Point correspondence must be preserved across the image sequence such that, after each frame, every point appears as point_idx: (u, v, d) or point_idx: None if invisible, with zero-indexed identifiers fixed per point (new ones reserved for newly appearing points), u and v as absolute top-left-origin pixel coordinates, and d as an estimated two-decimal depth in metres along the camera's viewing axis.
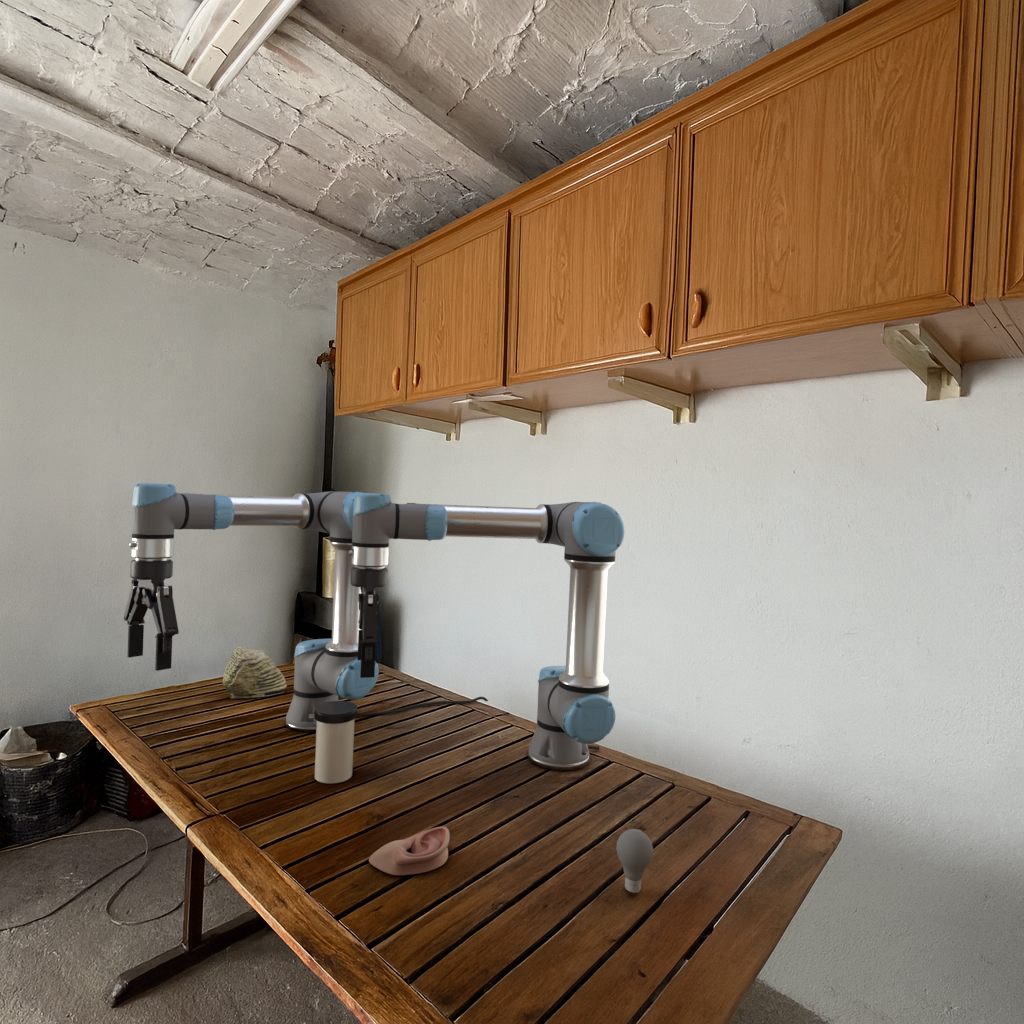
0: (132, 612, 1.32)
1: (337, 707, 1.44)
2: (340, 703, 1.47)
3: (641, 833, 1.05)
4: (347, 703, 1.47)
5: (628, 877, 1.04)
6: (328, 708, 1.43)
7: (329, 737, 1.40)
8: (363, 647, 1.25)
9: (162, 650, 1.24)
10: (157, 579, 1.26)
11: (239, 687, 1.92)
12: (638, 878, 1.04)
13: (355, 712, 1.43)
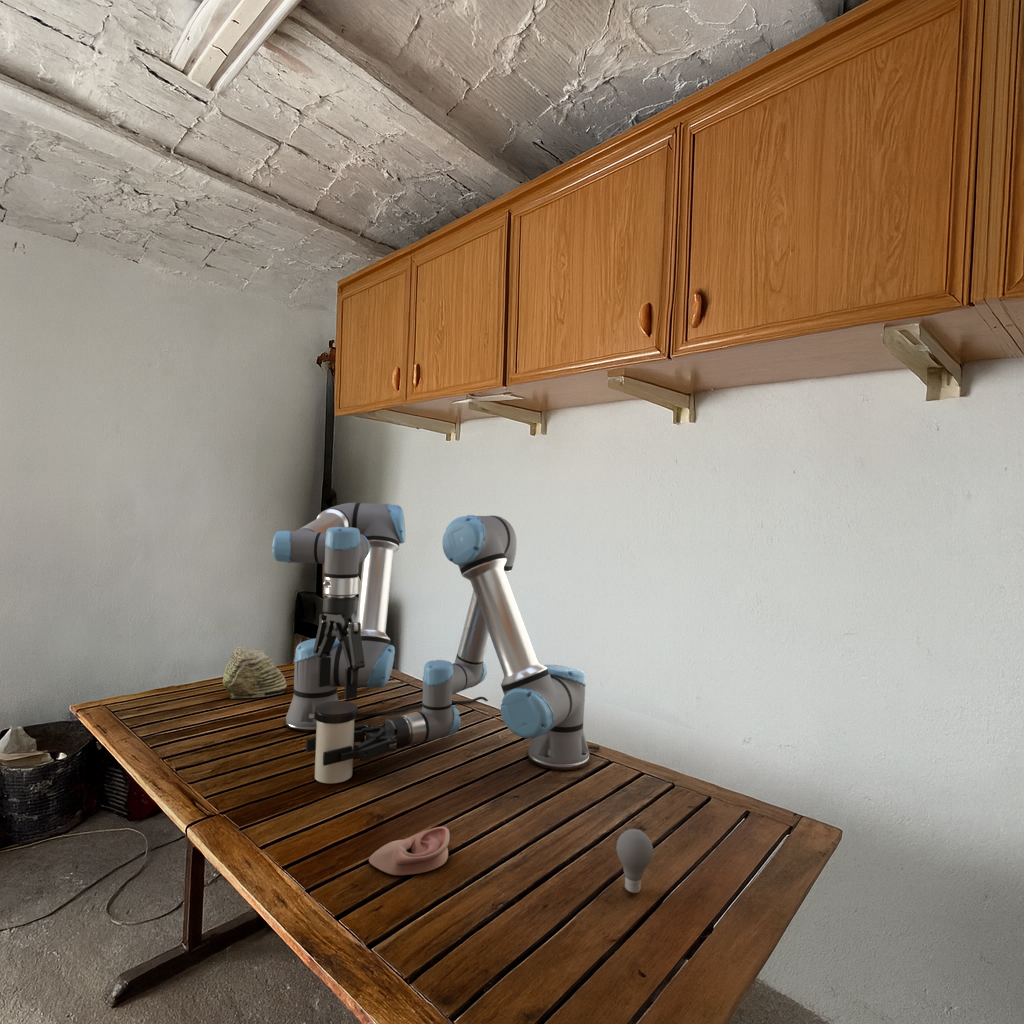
0: (322, 645, 1.46)
1: (337, 707, 1.44)
2: (340, 703, 1.47)
3: (641, 833, 1.05)
4: (347, 703, 1.47)
5: (628, 877, 1.04)
6: (328, 708, 1.43)
7: (329, 737, 1.40)
8: None
9: (350, 681, 1.39)
10: (347, 615, 1.41)
11: (239, 687, 1.92)
12: (638, 878, 1.04)
13: (355, 712, 1.43)
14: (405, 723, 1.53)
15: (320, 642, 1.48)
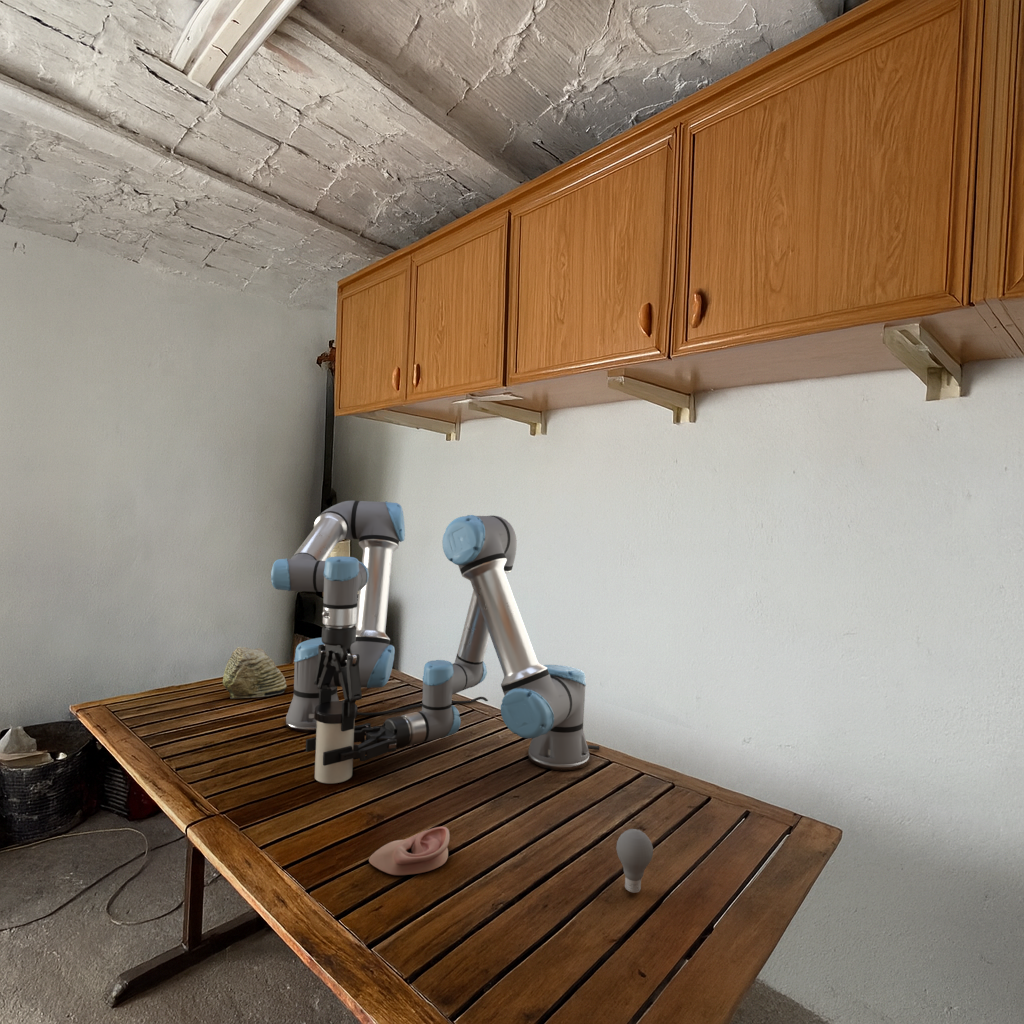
0: (322, 676, 1.46)
1: (337, 707, 1.44)
2: (340, 703, 1.47)
3: (641, 833, 1.05)
4: None
5: (628, 877, 1.04)
6: (328, 708, 1.43)
7: (329, 737, 1.40)
8: None
9: (347, 713, 1.39)
10: (346, 645, 1.41)
11: (239, 687, 1.92)
12: (638, 878, 1.04)
13: (355, 712, 1.43)
14: (405, 723, 1.53)
15: (320, 673, 1.48)
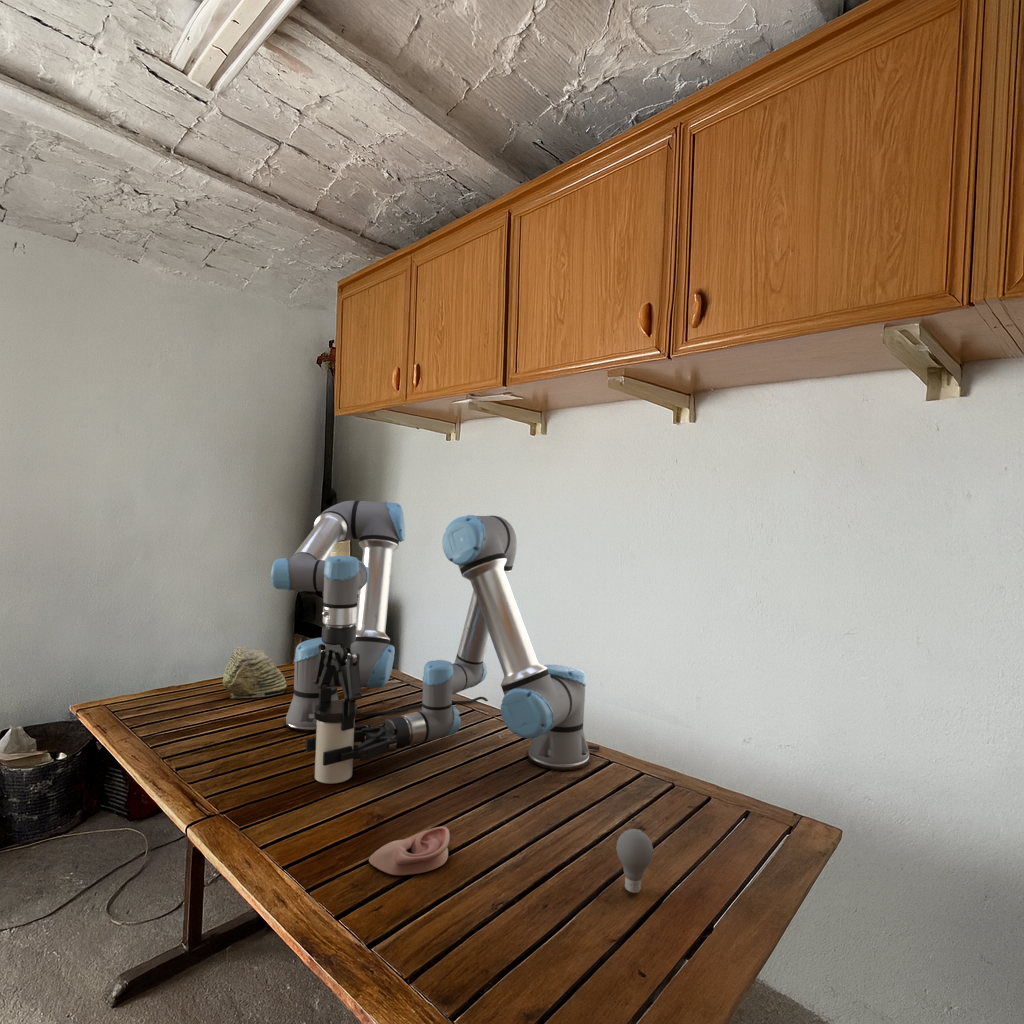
0: (322, 676, 1.46)
1: (337, 706, 1.44)
2: (327, 704, 1.45)
3: (641, 833, 1.05)
4: (331, 702, 1.47)
5: (628, 877, 1.04)
6: (333, 709, 1.42)
7: (329, 737, 1.40)
8: None
9: (347, 713, 1.39)
10: (346, 644, 1.41)
11: (239, 687, 1.92)
12: (638, 878, 1.04)
13: None
14: (405, 723, 1.53)
15: (320, 672, 1.48)
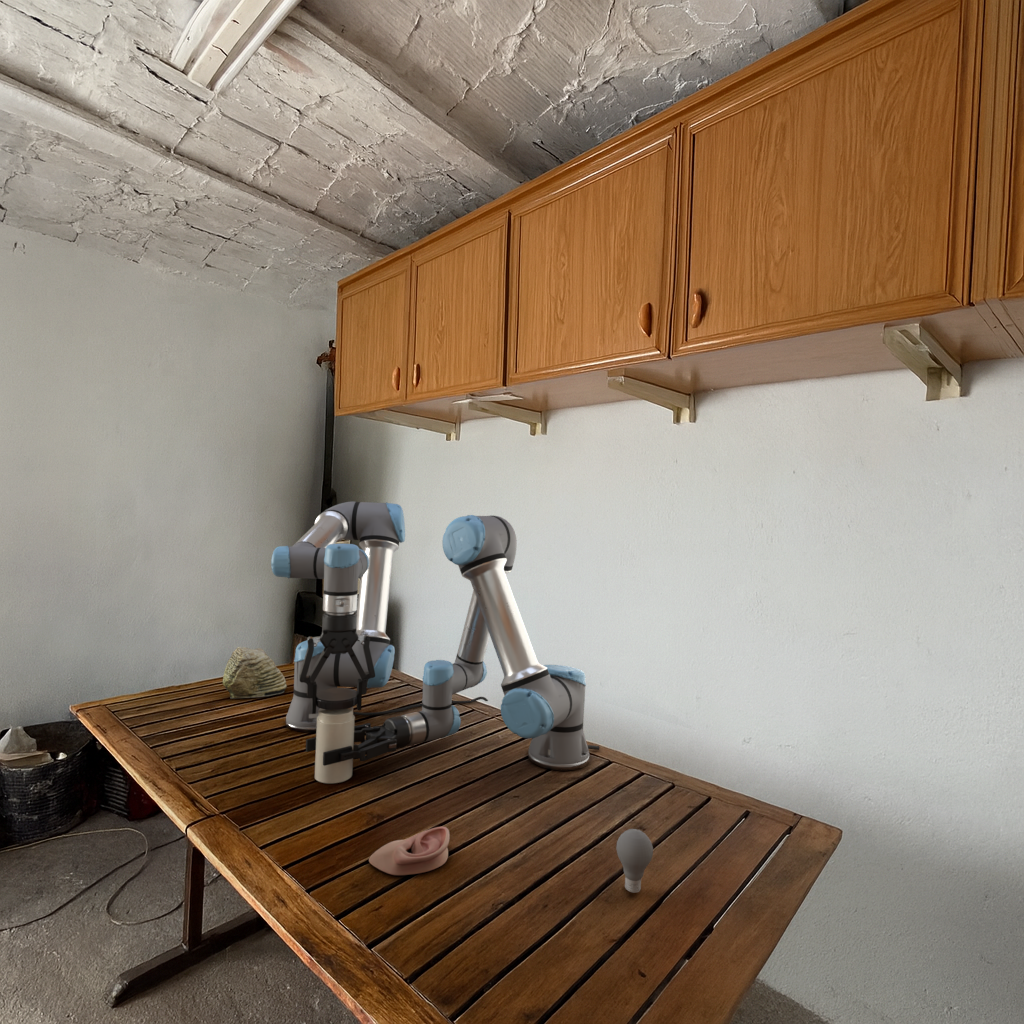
0: (317, 669, 1.41)
1: (336, 693, 1.44)
2: (325, 695, 1.43)
3: (641, 833, 1.05)
4: (321, 693, 1.44)
5: (628, 877, 1.04)
6: (343, 695, 1.43)
7: (329, 737, 1.40)
8: None
9: (364, 691, 1.46)
10: (356, 628, 1.45)
11: (239, 687, 1.92)
12: (638, 878, 1.04)
13: None
14: (405, 723, 1.53)
15: None
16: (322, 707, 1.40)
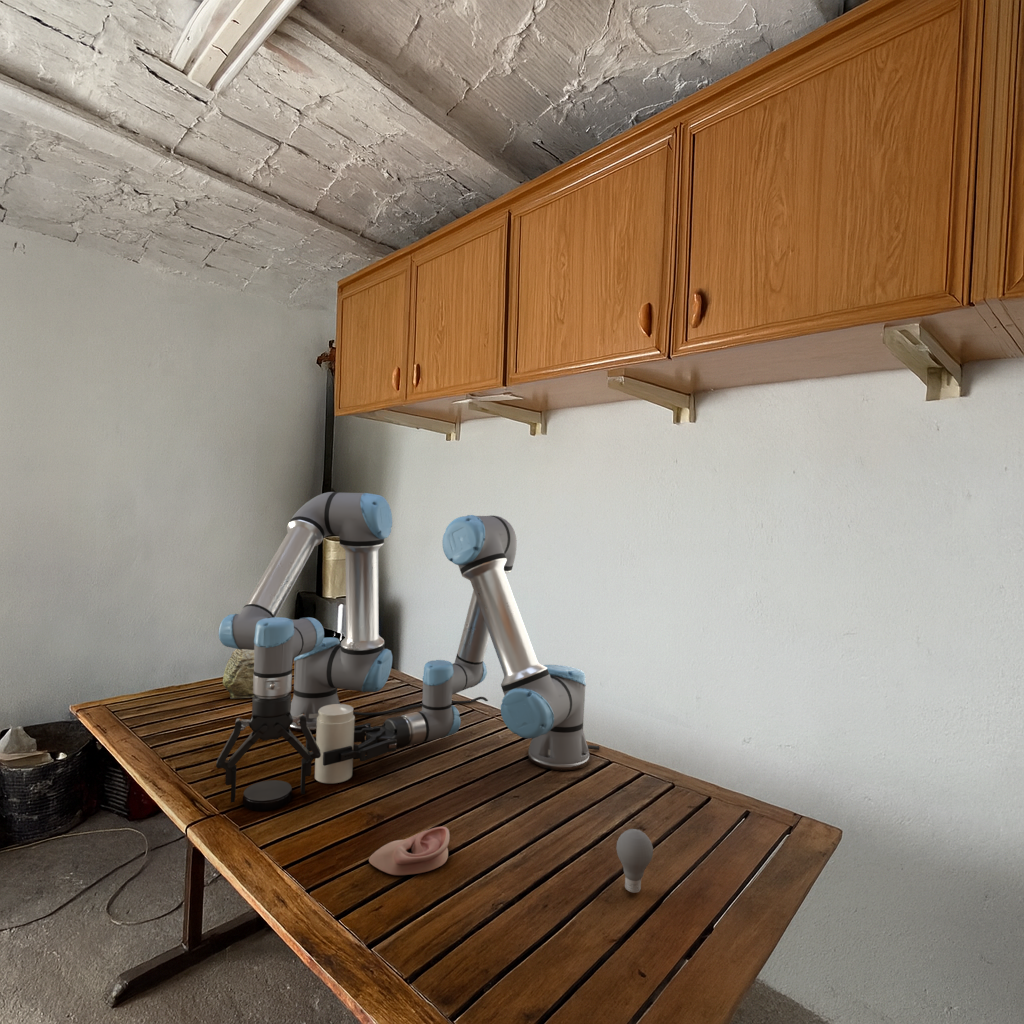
0: (240, 754, 1.28)
1: (267, 789, 1.32)
2: (253, 793, 1.30)
3: (641, 833, 1.05)
4: (250, 790, 1.31)
5: (628, 877, 1.04)
6: (274, 792, 1.30)
7: (329, 737, 1.40)
8: None
9: (308, 773, 1.34)
10: (290, 711, 1.32)
11: (239, 687, 1.92)
12: (638, 878, 1.04)
13: None
14: (405, 723, 1.53)
15: (228, 753, 1.28)
16: (249, 807, 1.27)
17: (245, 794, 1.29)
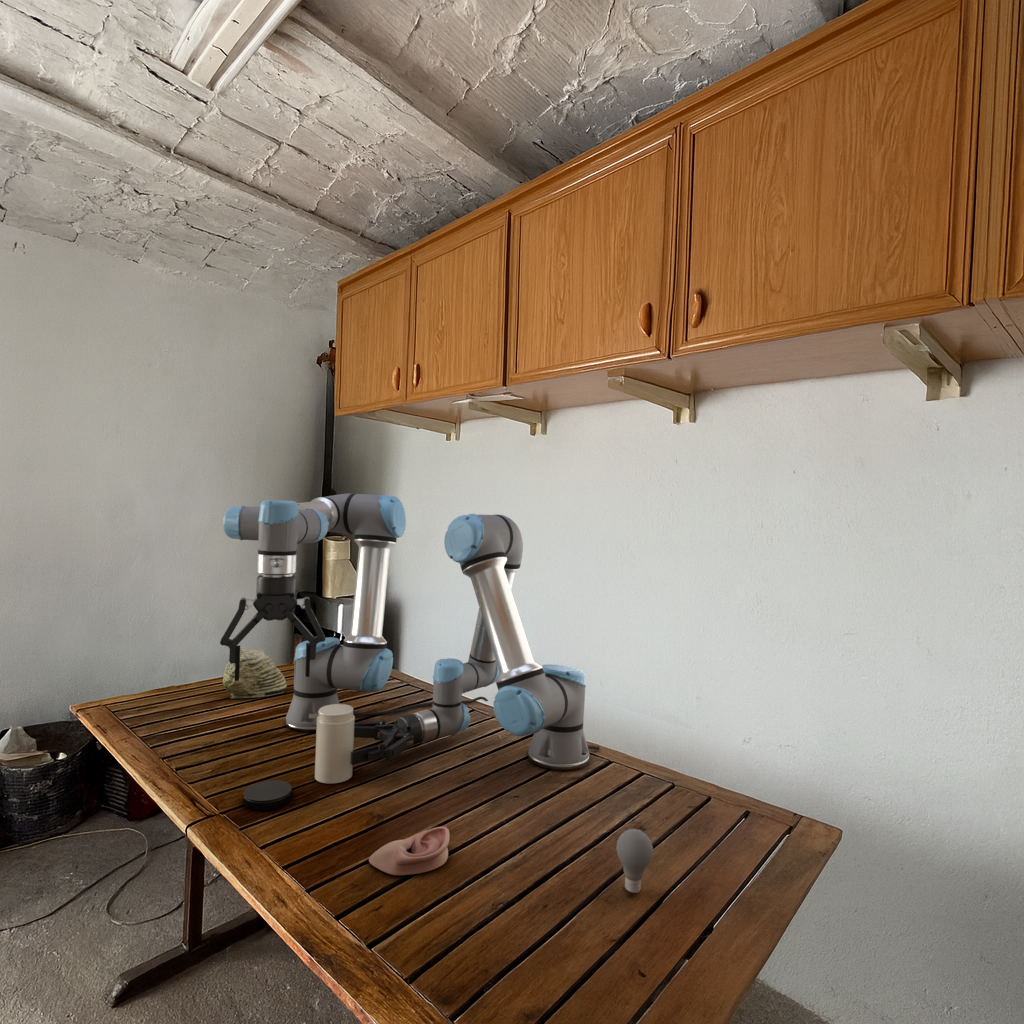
0: (244, 633, 1.28)
1: (267, 789, 1.32)
2: (253, 793, 1.30)
3: (641, 833, 1.05)
4: (250, 790, 1.31)
5: (628, 877, 1.04)
6: (274, 792, 1.30)
7: (329, 737, 1.40)
8: None
9: (312, 656, 1.33)
10: (294, 593, 1.32)
11: (239, 687, 1.92)
12: (638, 878, 1.04)
13: None
14: (417, 721, 1.56)
15: (232, 631, 1.28)
16: (249, 807, 1.27)
17: (245, 794, 1.29)
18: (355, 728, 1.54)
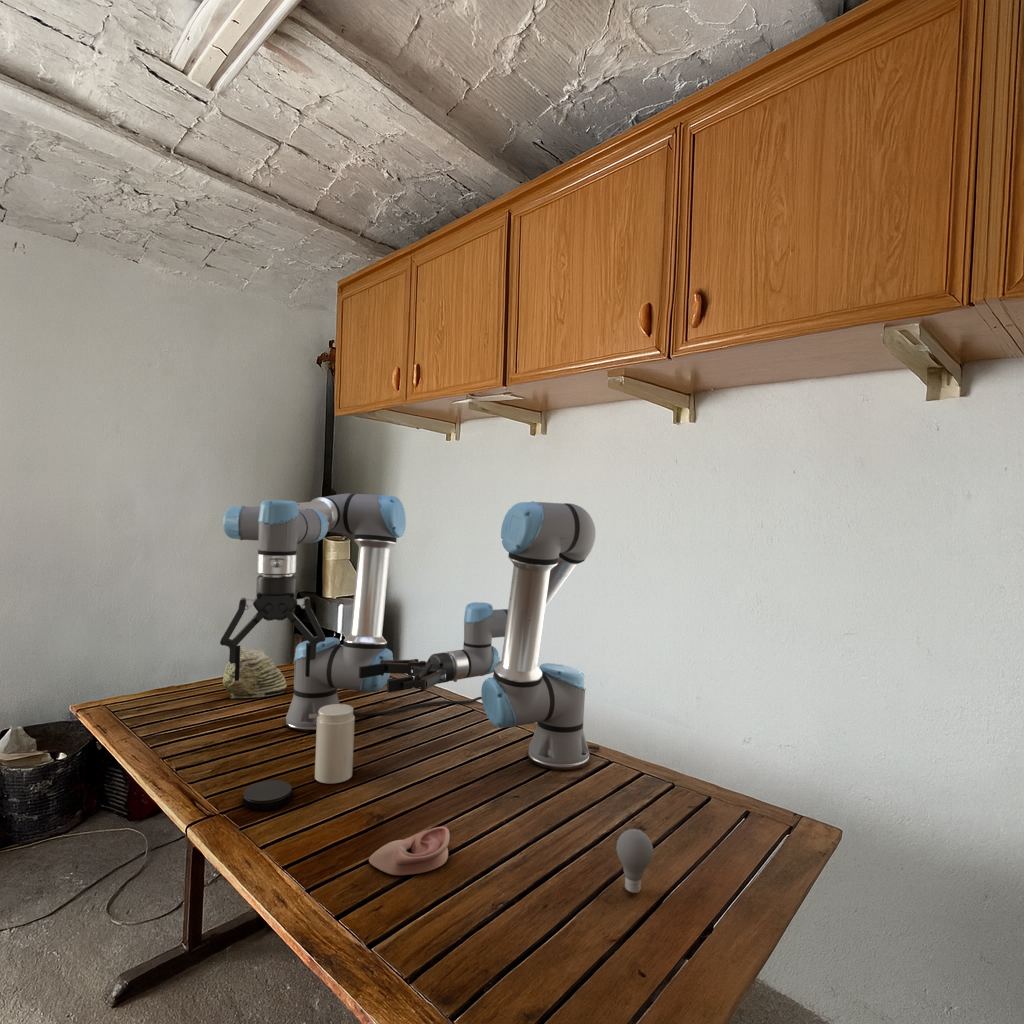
0: (244, 633, 1.28)
1: (267, 789, 1.32)
2: (253, 793, 1.30)
3: (641, 833, 1.05)
4: (250, 790, 1.31)
5: (628, 877, 1.04)
6: (274, 792, 1.30)
7: (329, 737, 1.40)
8: None
9: (312, 656, 1.33)
10: (294, 593, 1.32)
11: (239, 687, 1.92)
12: (638, 878, 1.04)
13: None
14: (449, 658, 1.61)
15: (232, 631, 1.28)
16: (249, 807, 1.27)
17: (245, 794, 1.29)
18: (390, 664, 1.60)
